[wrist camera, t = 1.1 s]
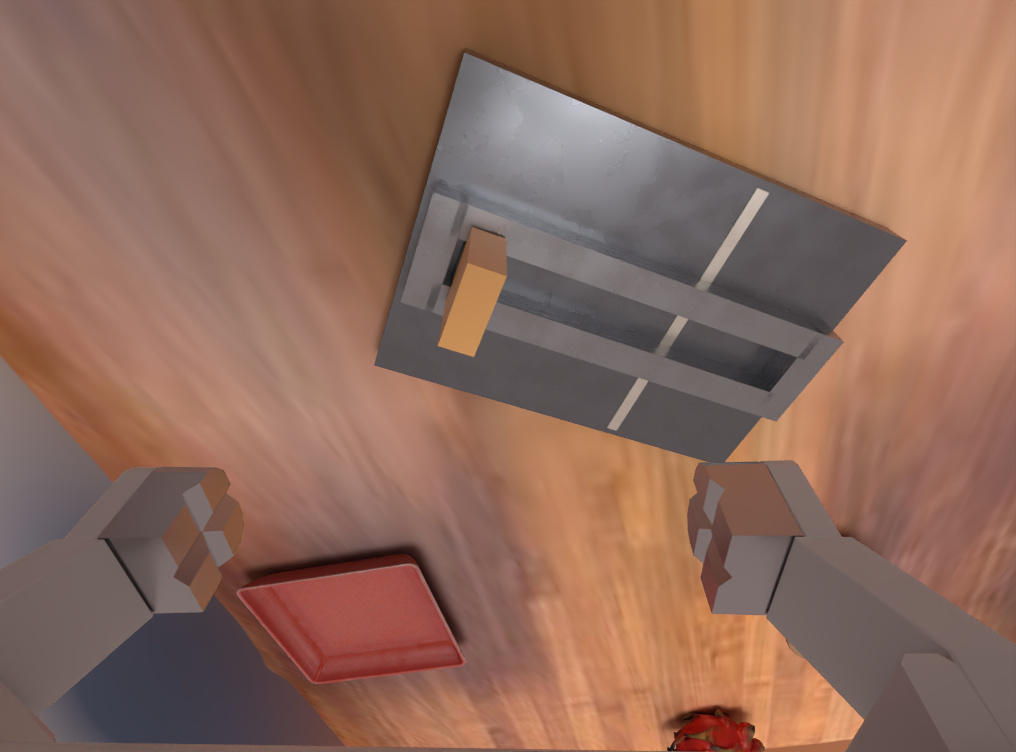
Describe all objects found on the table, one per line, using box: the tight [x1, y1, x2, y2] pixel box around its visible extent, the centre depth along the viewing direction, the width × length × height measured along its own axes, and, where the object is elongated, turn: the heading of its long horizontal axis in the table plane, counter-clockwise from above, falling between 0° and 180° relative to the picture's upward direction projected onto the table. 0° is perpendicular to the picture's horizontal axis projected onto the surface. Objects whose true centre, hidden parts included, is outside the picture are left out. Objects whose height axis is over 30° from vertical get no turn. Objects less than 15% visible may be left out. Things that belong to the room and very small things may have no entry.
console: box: [374, 48, 907, 462], centre depth 36 cm, size 28×20×4 cm
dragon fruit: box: [667, 709, 765, 752], centre depth 71 cm, size 8×8×12 cm
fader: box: [438, 227, 507, 357], centre depth 31 cm, size 2×5×7 cm, turn 159°
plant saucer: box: [237, 554, 466, 684], centre depth 57 cm, size 18×18×3 cm
